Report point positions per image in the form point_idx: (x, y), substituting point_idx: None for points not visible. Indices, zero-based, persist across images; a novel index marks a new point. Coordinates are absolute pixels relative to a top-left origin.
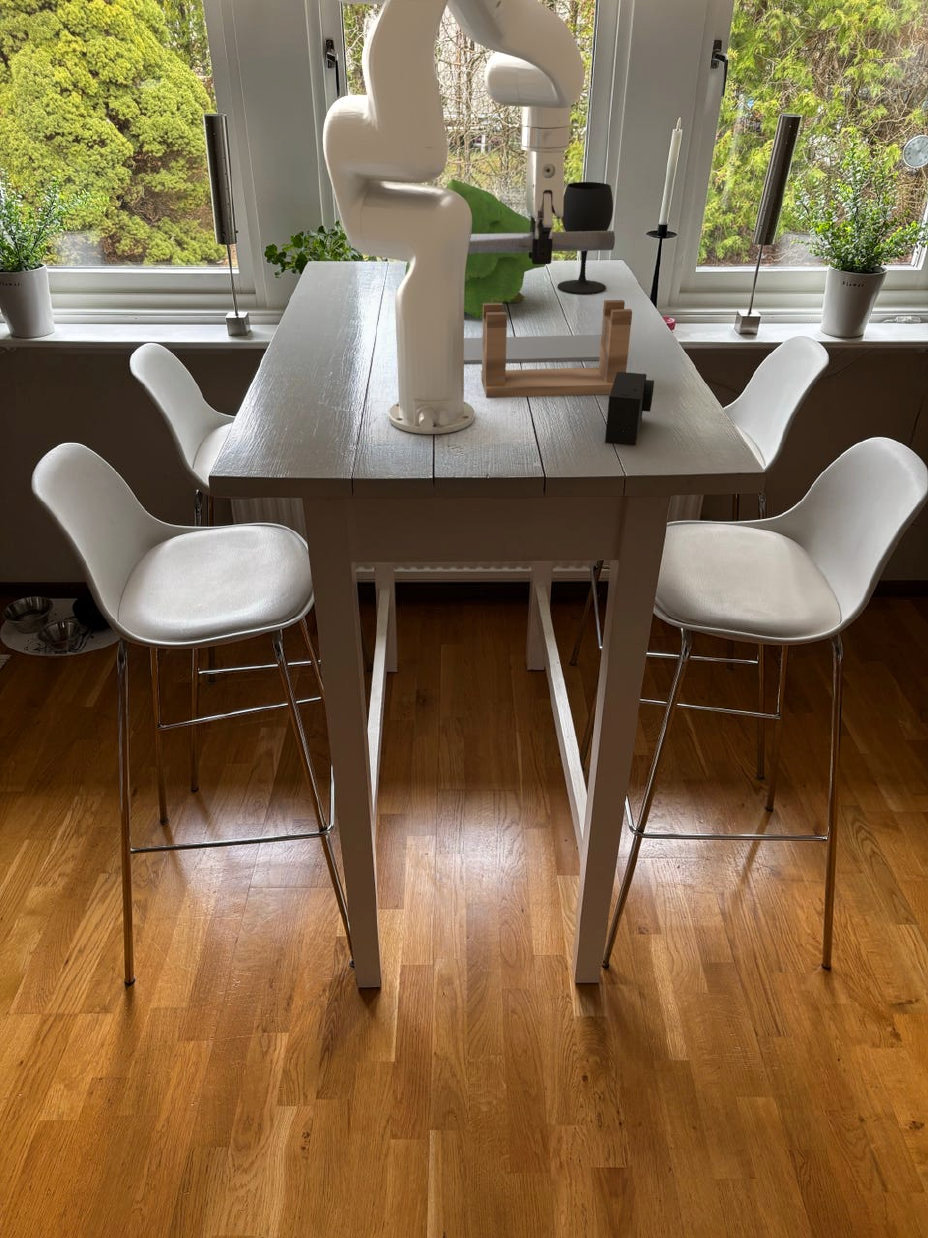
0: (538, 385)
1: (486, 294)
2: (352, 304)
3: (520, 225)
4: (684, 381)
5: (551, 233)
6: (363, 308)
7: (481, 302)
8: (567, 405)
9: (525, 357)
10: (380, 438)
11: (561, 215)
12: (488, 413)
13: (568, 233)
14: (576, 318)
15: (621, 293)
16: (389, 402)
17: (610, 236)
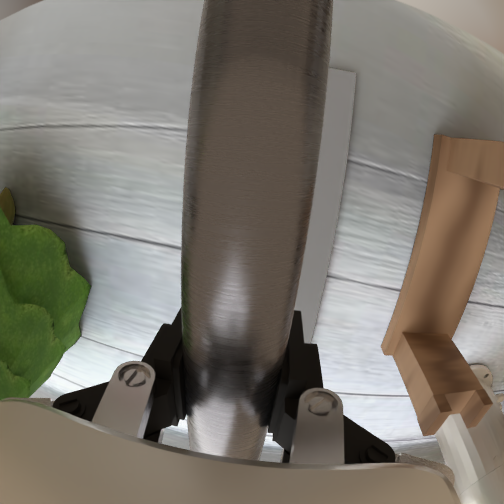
0: (468, 291)
1: (63, 291)
2: (56, 393)
3: None
4: (465, 43)
5: (341, 416)
6: (66, 390)
7: (73, 294)
8: (500, 256)
9: (322, 268)
10: None
11: (449, 481)
12: (474, 349)
13: (265, 289)
14: (84, 104)
15: (5, 32)
16: (397, 427)
17: None
